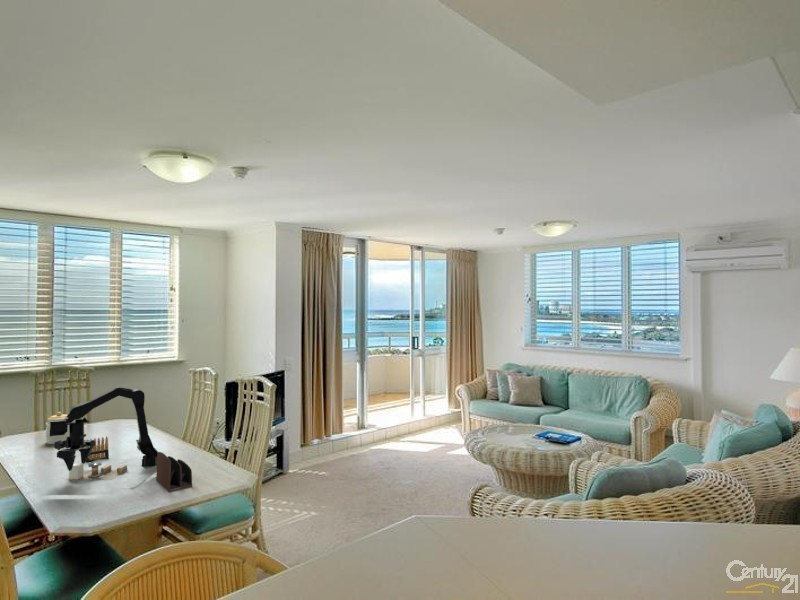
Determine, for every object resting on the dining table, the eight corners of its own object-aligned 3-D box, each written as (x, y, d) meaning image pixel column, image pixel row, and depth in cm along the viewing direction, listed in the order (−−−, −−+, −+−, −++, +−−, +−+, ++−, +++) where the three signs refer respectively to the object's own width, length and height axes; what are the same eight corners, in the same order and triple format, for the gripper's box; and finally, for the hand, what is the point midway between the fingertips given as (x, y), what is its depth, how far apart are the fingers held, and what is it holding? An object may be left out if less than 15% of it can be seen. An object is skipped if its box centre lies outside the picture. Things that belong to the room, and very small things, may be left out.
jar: (41, 445, 287) (41, 414, 287) (51, 439, 299) (51, 410, 299) (66, 443, 290) (66, 413, 290) (75, 438, 302) (75, 409, 302)
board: (127, 472, 237) (127, 469, 237) (110, 483, 223) (110, 479, 223) (84, 473, 237) (84, 469, 237) (64, 483, 223) (64, 480, 223)
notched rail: (127, 470, 237) (127, 464, 237) (121, 473, 232) (121, 468, 232) (107, 470, 237) (107, 464, 237) (100, 473, 232) (100, 468, 232)
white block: (83, 476, 228) (83, 463, 229) (77, 479, 224) (77, 466, 225) (74, 476, 228) (74, 463, 229) (69, 479, 224) (69, 466, 225)
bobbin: (103, 473, 232) (103, 462, 232) (97, 477, 226) (97, 465, 226) (92, 473, 232) (92, 462, 232) (85, 477, 226) (85, 465, 226)
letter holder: (168, 492, 212) (168, 459, 212) (156, 480, 227) (156, 449, 227) (192, 487, 219) (192, 455, 219) (178, 475, 234) (178, 445, 234)
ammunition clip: (85, 463, 252) (85, 440, 252) (84, 462, 254) (84, 439, 254) (108, 459, 259) (109, 436, 259) (108, 458, 261) (108, 435, 261)
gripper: (72, 428, 236) (72, 461, 236) (44, 438, 217) (44, 474, 217) (95, 428, 236) (95, 460, 236) (69, 438, 217) (69, 474, 217)
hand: (76, 467), depth 227 cm, fingers open, 9 cm apart
